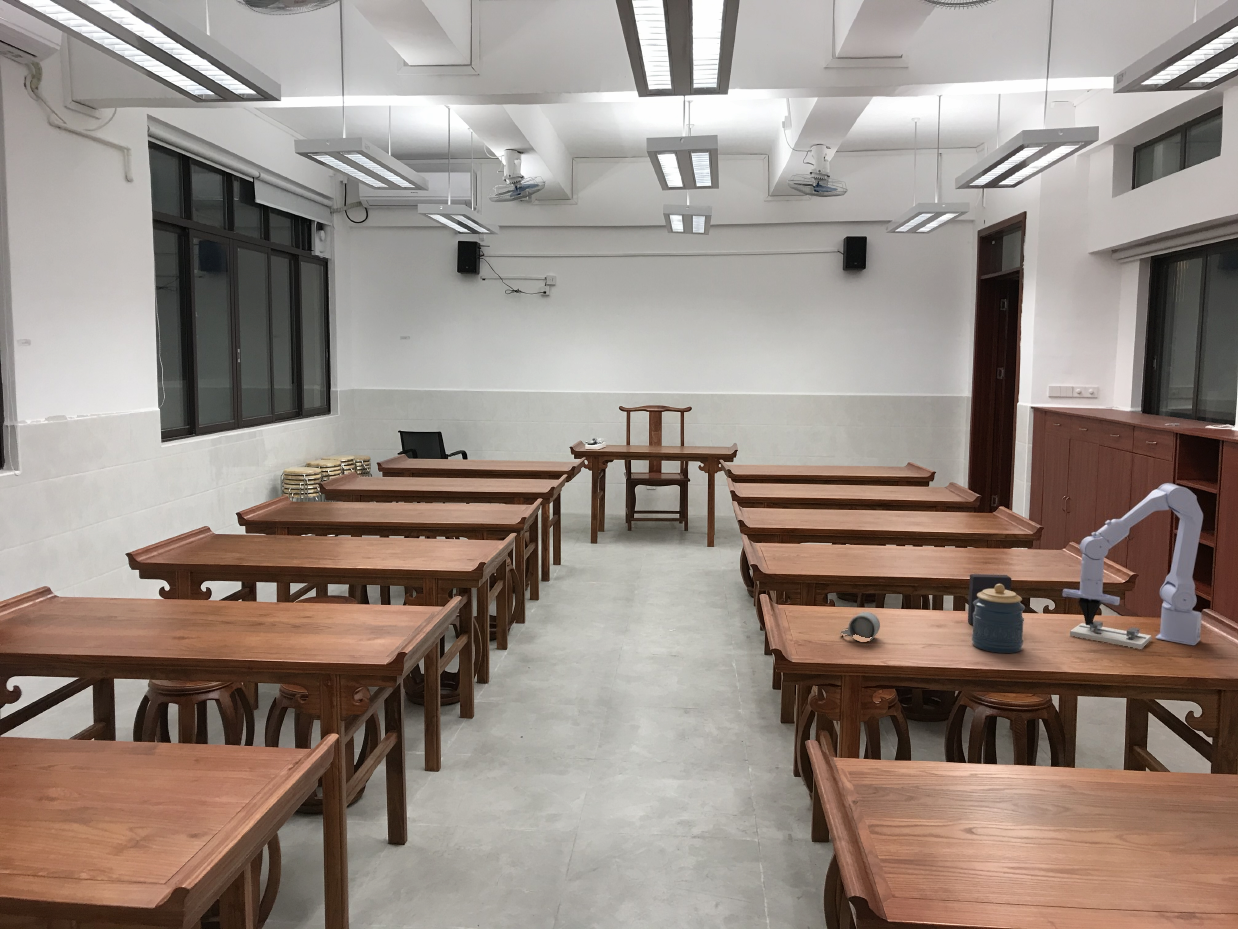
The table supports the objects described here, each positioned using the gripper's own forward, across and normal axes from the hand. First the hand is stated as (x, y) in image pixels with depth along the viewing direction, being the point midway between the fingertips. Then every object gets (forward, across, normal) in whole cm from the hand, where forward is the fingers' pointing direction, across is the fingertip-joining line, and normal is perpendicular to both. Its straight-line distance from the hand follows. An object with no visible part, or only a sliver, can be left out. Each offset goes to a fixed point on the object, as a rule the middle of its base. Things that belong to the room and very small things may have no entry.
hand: (1088, 624), depth 253 cm
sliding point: (+1, +2, 0) cm, 2 cm away
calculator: (+3, -25, -11) cm, 27 cm away
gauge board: (+3, +6, 0) cm, 6 cm away
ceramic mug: (+3, -46, -50) cm, 68 cm away
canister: (+3, -15, -30) cm, 34 cm away
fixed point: (+1, +11, 0) cm, 11 cm away
